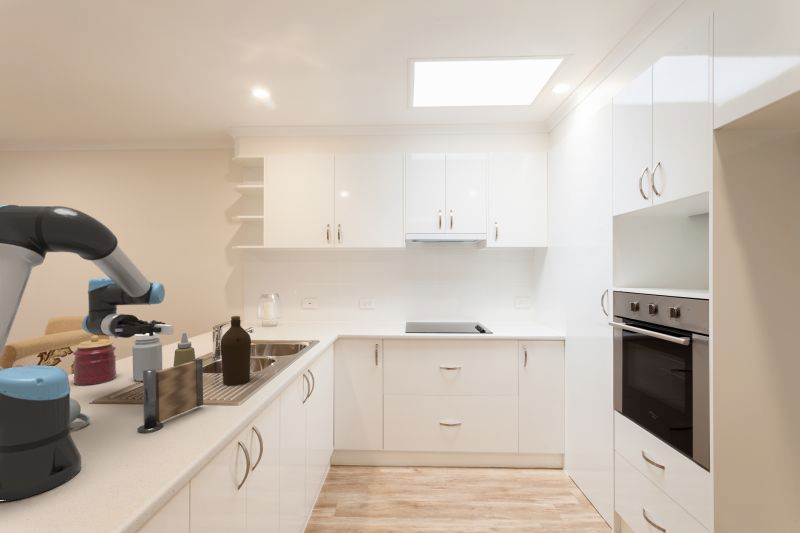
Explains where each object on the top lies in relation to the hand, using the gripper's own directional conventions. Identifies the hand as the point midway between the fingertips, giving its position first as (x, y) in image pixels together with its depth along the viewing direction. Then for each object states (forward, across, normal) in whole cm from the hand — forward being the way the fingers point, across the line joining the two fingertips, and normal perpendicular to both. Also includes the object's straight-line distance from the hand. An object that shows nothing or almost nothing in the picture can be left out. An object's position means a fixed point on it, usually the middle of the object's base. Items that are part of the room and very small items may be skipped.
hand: (171, 330), depth 116 cm
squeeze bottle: (-24, -23, -25) cm, 42 cm away
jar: (-39, -19, -25) cm, 50 cm away
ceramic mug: (-17, +20, -25) cm, 36 cm away
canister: (-56, -10, -25) cm, 62 cm away
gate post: (+6, +11, -25) cm, 28 cm away
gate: (+6, +2, -24) cm, 25 cm away
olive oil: (-3, -28, -25) cm, 38 cm away
